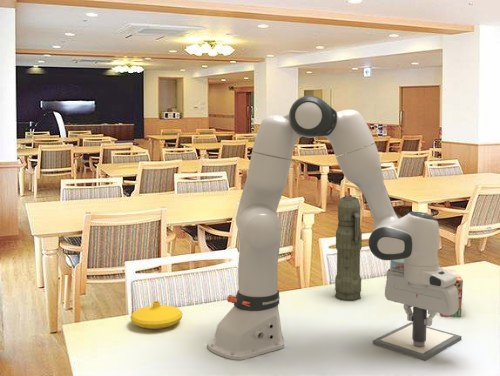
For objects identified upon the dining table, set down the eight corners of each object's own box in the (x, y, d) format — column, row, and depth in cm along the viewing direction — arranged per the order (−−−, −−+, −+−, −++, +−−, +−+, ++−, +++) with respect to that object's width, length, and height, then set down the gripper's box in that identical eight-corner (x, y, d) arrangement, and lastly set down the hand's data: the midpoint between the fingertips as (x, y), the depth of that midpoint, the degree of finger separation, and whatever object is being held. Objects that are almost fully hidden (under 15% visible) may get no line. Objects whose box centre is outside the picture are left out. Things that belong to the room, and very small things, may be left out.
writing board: (425, 360, 155) (425, 356, 155) (372, 343, 166) (372, 339, 166) (461, 339, 169) (461, 335, 168) (410, 325, 180) (411, 321, 180)
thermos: (347, 290, 215) (349, 194, 210) (368, 299, 204) (370, 198, 200) (327, 294, 211) (328, 196, 206) (347, 303, 200) (349, 200, 196)
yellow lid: (120, 329, 179) (119, 306, 179) (150, 313, 194) (150, 291, 193) (163, 337, 173) (163, 313, 172) (192, 320, 187) (191, 298, 186)
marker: (421, 348, 159) (423, 295, 157) (409, 344, 162) (410, 292, 160) (428, 344, 161) (430, 292, 160) (416, 340, 164) (417, 289, 162)
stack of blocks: (430, 296, 208) (431, 261, 207) (448, 296, 207) (450, 262, 206) (440, 317, 187) (442, 278, 186) (461, 317, 186) (463, 279, 185)
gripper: (380, 268, 164) (379, 316, 166) (450, 282, 150) (448, 335, 151) (393, 263, 168) (392, 311, 170) (462, 277, 154) (460, 329, 156)
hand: (419, 322), depth 161 cm, fingers closed on marker, 4 cm apart
